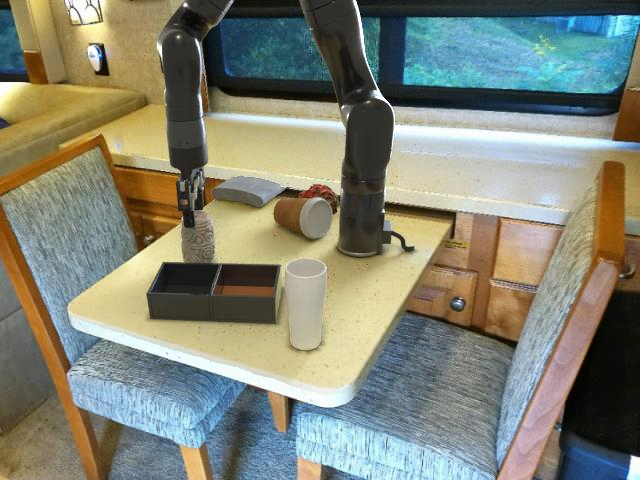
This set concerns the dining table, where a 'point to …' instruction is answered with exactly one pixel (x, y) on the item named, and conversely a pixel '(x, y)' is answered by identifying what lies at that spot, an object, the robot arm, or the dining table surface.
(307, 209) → the disposable coffee cup
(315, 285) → the drinking glass
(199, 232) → the carving
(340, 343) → the dining table surface
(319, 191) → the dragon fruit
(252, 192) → the hip flask
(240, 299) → the storage box with compartments
